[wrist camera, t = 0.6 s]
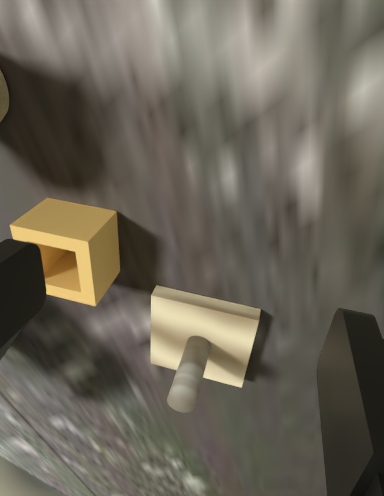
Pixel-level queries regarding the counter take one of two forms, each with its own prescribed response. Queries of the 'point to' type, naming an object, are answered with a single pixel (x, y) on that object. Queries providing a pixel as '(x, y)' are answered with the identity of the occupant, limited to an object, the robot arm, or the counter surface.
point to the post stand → (200, 341)
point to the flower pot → (3, 97)
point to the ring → (73, 247)
